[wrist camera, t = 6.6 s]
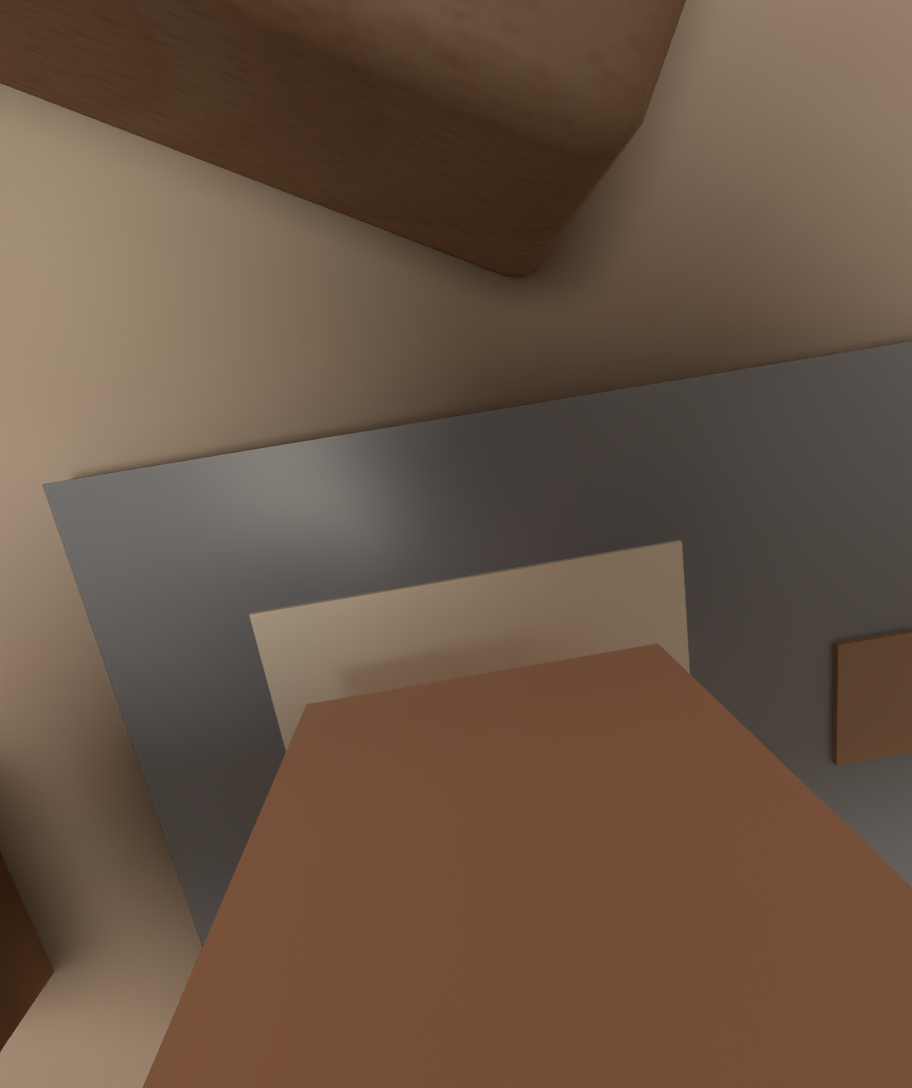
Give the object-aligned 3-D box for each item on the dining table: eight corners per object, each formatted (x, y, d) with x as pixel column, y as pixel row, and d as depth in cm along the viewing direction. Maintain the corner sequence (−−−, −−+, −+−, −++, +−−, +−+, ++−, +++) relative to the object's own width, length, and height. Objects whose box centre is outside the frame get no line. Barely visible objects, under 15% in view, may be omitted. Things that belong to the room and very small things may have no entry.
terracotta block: (679, 924, 9) (1011, 1583, 4) (375, 979, 8) (306, 1728, 4) (657, 643, 7) (1099, 1067, 3) (306, 703, 7) (67, 1261, 2)
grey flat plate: (985, 904, 11) (1020, 934, 11) (254, 1036, 11) (244, 1076, 11) (1041, 319, 9) (1093, 311, 8) (68, 480, 8) (37, 485, 8)
